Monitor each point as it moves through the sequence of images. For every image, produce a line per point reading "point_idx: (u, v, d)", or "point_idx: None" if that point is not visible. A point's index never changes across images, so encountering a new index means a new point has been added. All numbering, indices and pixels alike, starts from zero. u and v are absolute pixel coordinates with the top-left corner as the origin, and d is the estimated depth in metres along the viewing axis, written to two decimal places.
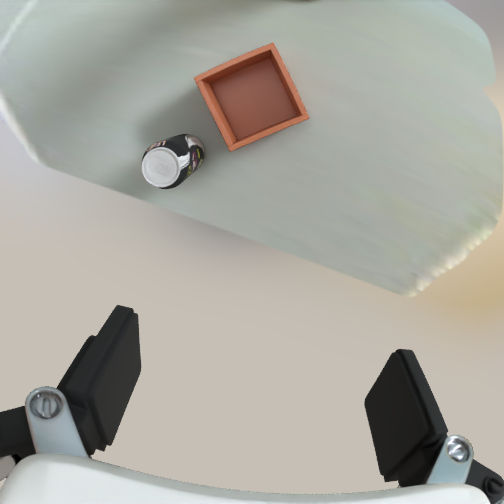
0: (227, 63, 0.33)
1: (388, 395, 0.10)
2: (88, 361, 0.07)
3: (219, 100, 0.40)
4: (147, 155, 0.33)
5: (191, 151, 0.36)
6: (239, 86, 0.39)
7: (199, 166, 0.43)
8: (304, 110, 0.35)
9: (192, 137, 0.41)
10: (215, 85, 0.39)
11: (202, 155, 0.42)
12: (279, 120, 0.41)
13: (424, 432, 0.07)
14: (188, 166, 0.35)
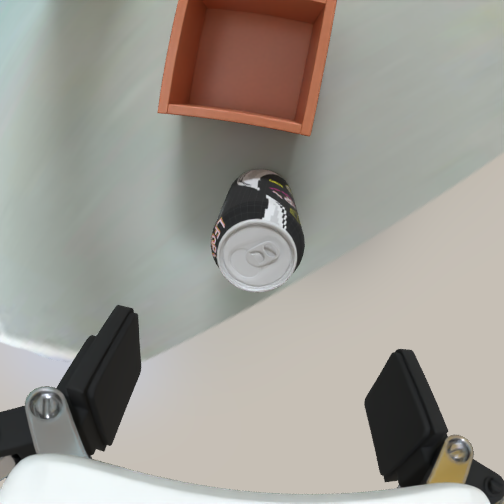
0: (170, 52, 0.18)
1: (388, 395, 0.10)
2: (88, 361, 0.07)
3: (221, 105, 0.25)
4: (221, 263, 0.18)
5: (267, 190, 0.21)
6: (219, 67, 0.23)
7: None
8: None
9: (246, 175, 0.25)
10: (195, 98, 0.24)
11: (281, 180, 0.26)
12: (305, 49, 0.22)
13: (424, 432, 0.07)
14: (289, 213, 0.18)
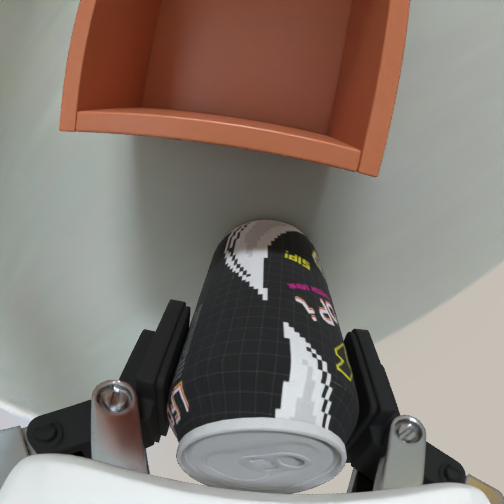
0: (83, 8, 0.07)
1: None
2: (154, 353, 0.08)
3: (197, 108, 0.14)
4: (188, 466, 0.07)
5: (284, 299, 0.10)
6: (194, 41, 0.12)
7: None
8: None
9: (241, 235, 0.15)
10: (153, 96, 0.14)
11: (304, 243, 0.15)
12: (345, 13, 0.11)
13: (370, 409, 0.08)
14: (336, 374, 0.07)
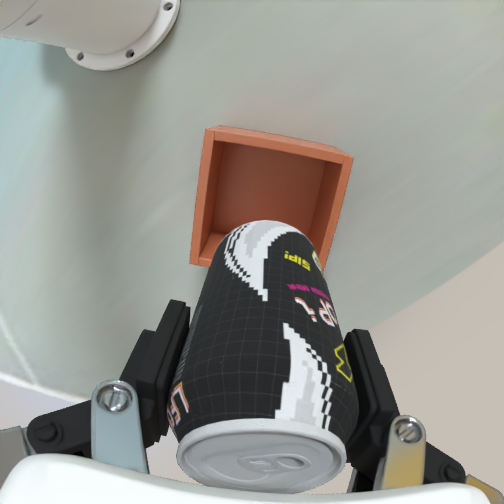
0: (197, 211, 0.23)
1: None
2: (154, 353, 0.08)
3: None
4: (188, 467, 0.07)
5: (284, 300, 0.10)
6: (239, 198, 0.29)
7: None
8: (338, 156, 0.21)
9: (241, 235, 0.15)
10: (218, 225, 0.30)
11: (304, 244, 0.15)
12: (319, 181, 0.28)
13: (370, 409, 0.08)
14: (336, 375, 0.07)
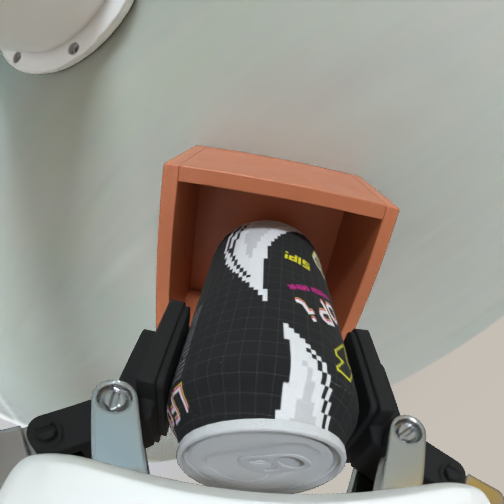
0: (160, 286, 0.15)
1: None
2: (154, 353, 0.08)
3: None
4: (188, 467, 0.07)
5: (284, 300, 0.10)
6: None
7: None
8: (377, 207, 0.13)
9: (241, 235, 0.15)
10: (197, 281, 0.22)
11: (304, 243, 0.15)
12: (337, 225, 0.20)
13: (370, 409, 0.08)
14: (336, 375, 0.07)
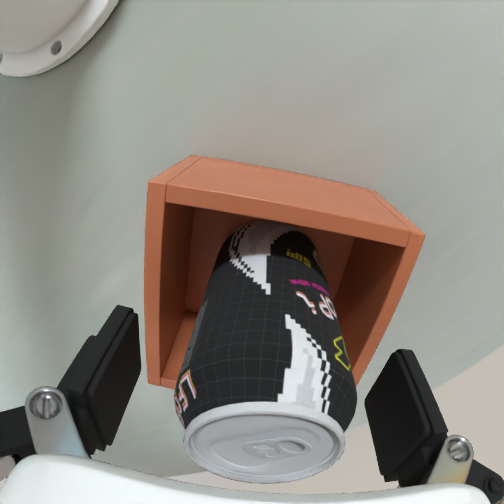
0: (149, 320, 0.13)
1: (388, 395, 0.10)
2: (88, 361, 0.07)
3: None
4: (194, 452, 0.08)
5: (286, 293, 0.10)
6: None
7: None
8: (400, 233, 0.11)
9: (245, 234, 0.15)
10: (194, 305, 0.20)
11: (305, 242, 0.15)
12: (348, 245, 0.18)
13: (424, 432, 0.07)
14: (334, 363, 0.08)
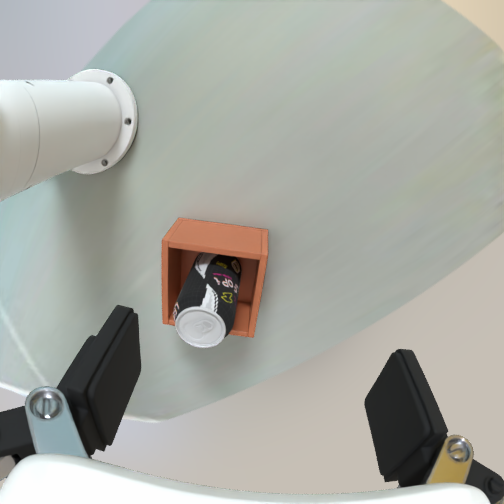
0: (163, 292, 0.33)
1: (388, 395, 0.10)
2: (88, 361, 0.07)
3: None
4: (179, 331, 0.28)
5: (210, 278, 0.30)
6: None
7: (239, 266, 0.36)
8: (256, 254, 0.31)
9: (203, 254, 0.35)
10: None
11: (229, 257, 0.35)
12: None
13: (424, 432, 0.07)
14: (220, 298, 0.28)
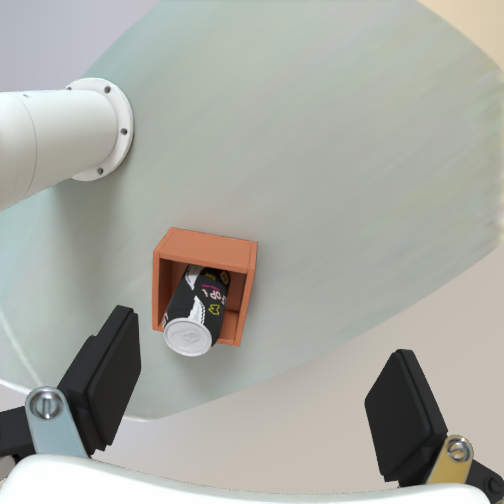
0: (154, 300, 0.34)
1: (388, 395, 0.10)
2: (88, 361, 0.07)
3: None
4: (167, 339, 0.29)
5: (198, 289, 0.31)
6: None
7: (228, 276, 0.37)
8: (243, 268, 0.32)
9: (193, 265, 0.36)
10: None
11: None
12: None
13: (424, 432, 0.07)
14: (207, 310, 0.29)
